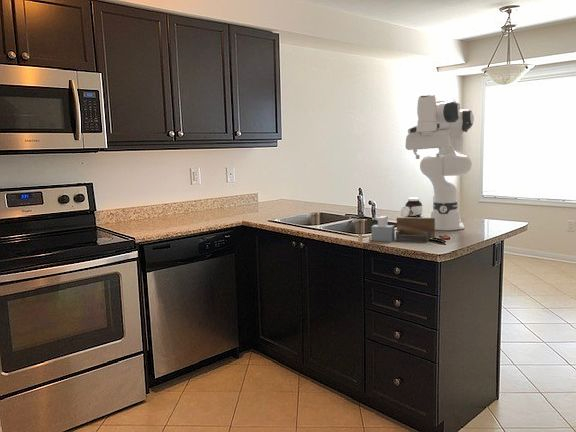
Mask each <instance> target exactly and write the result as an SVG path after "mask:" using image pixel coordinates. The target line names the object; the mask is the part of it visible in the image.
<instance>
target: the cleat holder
mask: <svg viewBox="0 0 576 432" xmlns="http://www.w3.org/2000/svg"><path fill="white" fill-rule="evenodd" d="M430 238H435V239H436V230H435V218H431V217H408V216H407V217H402V216H397V217H396V231H395V241H396V242H402V243H403V242H404V243H405V242H407V243H428V242H429V241H430V240H431V239H430Z"/></svg>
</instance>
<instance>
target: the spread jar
mask: <svg viewBox="0 0 576 432" xmlns="http://www.w3.org/2000/svg"><path fill="white" fill-rule="evenodd" d="M400 209H401V210H400V211H399V213H400V217H410V218H421V216H422V214H423V204H422V202H421V201H420V198H419V197H408V198H407V202H406V203H405V206H403V207H402V208H400Z"/></svg>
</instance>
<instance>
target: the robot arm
mask: <svg viewBox="0 0 576 432" xmlns="http://www.w3.org/2000/svg"><path fill="white" fill-rule="evenodd" d="M436 100H437V98H436V95H435V94H424V95H420V96H419V97H418V98H417V106H416V107H417V108H416V113H417V119H418V120H417V125H416V126H412V127H410V128H408V129H407V133H408V134H407V135H406V138H405V149H406V150H408V151H413V152H412V153H414V155H415V160H420V157H421V156H420V154H418V153H417V152H418V150H428V149H438V153H436V154H433V155H428V156H425V157H423V158H422V159H421V160H420V163H419V169H420V171H421V173H422V174H423V175H424V176H426V177H427V179H428V180H429V181H430V182H431V184H432V185H431V186H432V188H433V196H434V205H432V207H433V206H434V210H432V211H431V212H430V218H435V231H457V230H464V229H465V225H464V223H463V222H462V219H461V214H460V212H459V211H458V207H459V205H458V202H457V188H456V186H455V185H454V183H452V182H449V181H447V180H446V178H445V177H449V176H450V177H453V176H455V177H459V176H464V175H467V174H468V173H469V172H470V171H471V169H472V161H471V160H472V159H471V158H470V156H469V155H466V154H464V153H462V149H463V144H464V135H463V133H464V132H465V133H468V131H469V130H470V129H472V127H473V125H474V121H475V117H474V114H473V112H472V110H471V109H467V108H466V109H465V108H464V109H461V104H460V103H459V102H458V101H457V100H455V99H454V98H453V97H443V98H440V99H438V100H437V101H436Z"/></svg>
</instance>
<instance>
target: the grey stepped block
mask: <svg viewBox="0 0 576 432" xmlns="http://www.w3.org/2000/svg"><path fill="white" fill-rule="evenodd" d="M388 221H389V219H388V215H380V216H379V217H377V224H373V225H372V226H371V227H370V228H371V241H372V240H380V241H379V242H393V241H396V231H395V225H393V224H391V225H389V223H388Z"/></svg>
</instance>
